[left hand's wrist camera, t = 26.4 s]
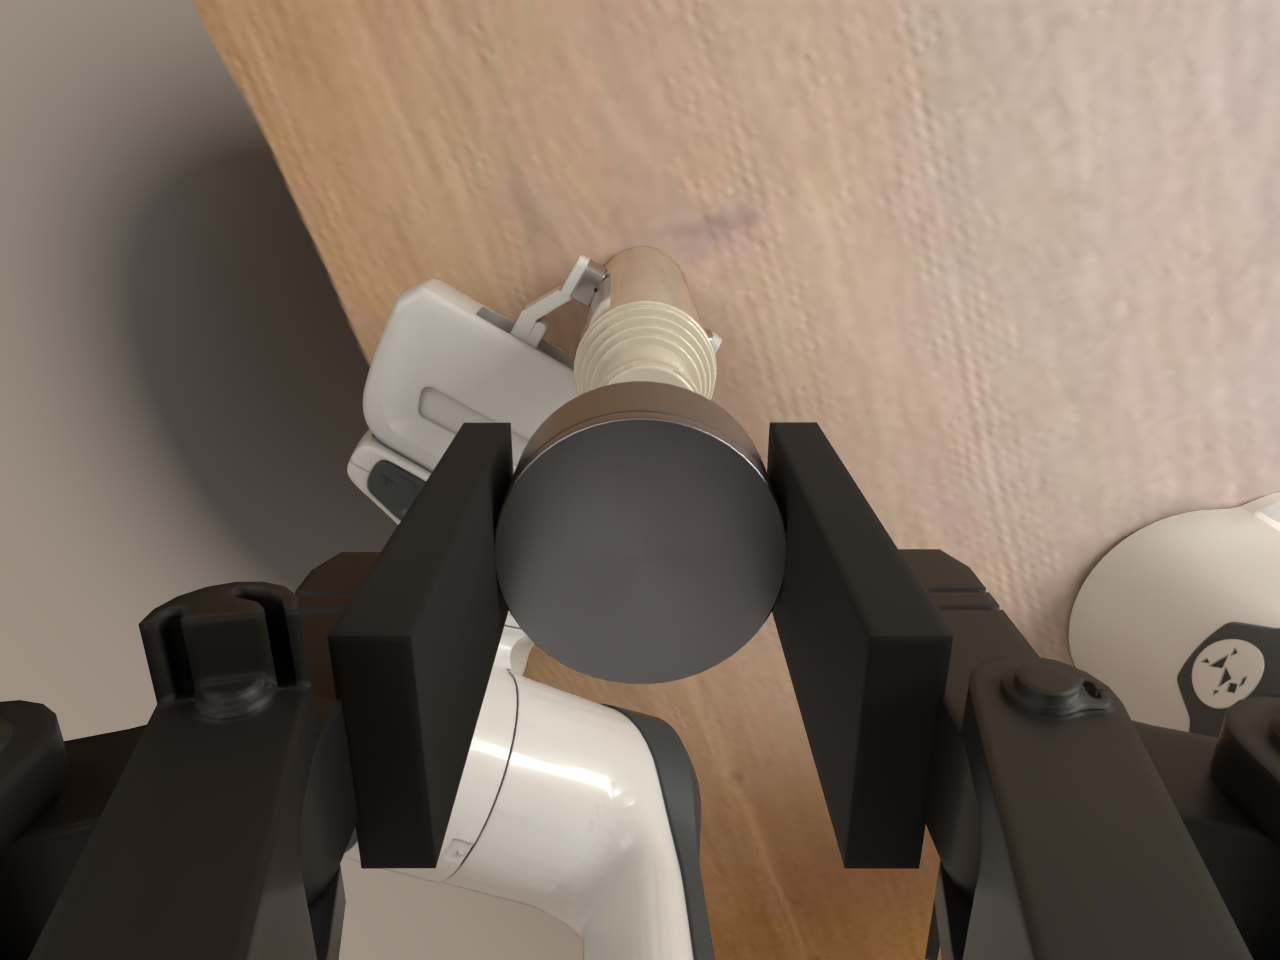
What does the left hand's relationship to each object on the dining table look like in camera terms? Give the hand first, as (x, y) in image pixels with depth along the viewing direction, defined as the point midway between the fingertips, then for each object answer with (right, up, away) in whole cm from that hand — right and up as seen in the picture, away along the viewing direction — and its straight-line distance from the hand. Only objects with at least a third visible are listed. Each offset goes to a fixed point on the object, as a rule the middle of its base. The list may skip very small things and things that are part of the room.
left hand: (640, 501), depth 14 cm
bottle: (0, +11, +33) cm, 35 cm away
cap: (0, -1, -2) cm, 2 cm away
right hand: (0, +9, +27) cm, 28 cm away
